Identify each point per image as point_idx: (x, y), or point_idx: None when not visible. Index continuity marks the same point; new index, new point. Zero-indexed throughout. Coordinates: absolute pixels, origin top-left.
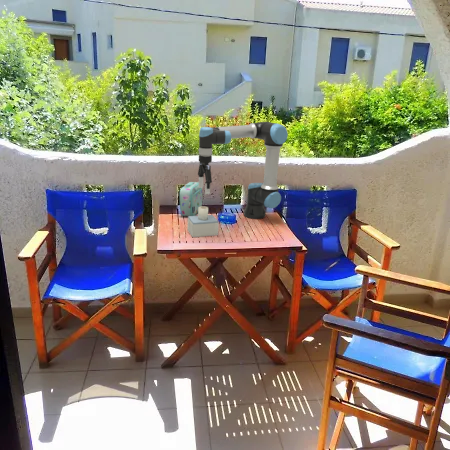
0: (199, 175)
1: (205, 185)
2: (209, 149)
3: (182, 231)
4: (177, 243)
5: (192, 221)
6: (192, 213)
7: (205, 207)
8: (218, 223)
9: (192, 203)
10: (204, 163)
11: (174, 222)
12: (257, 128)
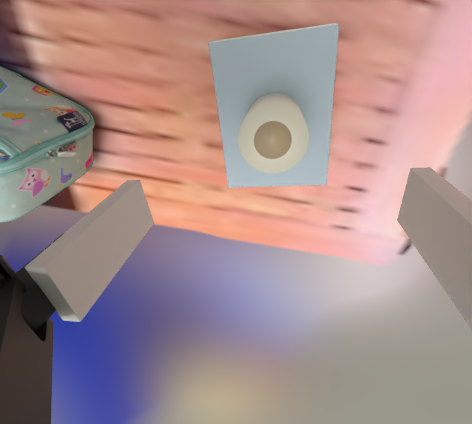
0: (51, 349)
1: (460, 306)
2: None
3: None
4: (358, 219)
5: (304, 183)
6: (88, 121)
7: (271, 125)
8: (336, 24)
9: (52, 136)
10: None
11: (157, 192)
12: None
